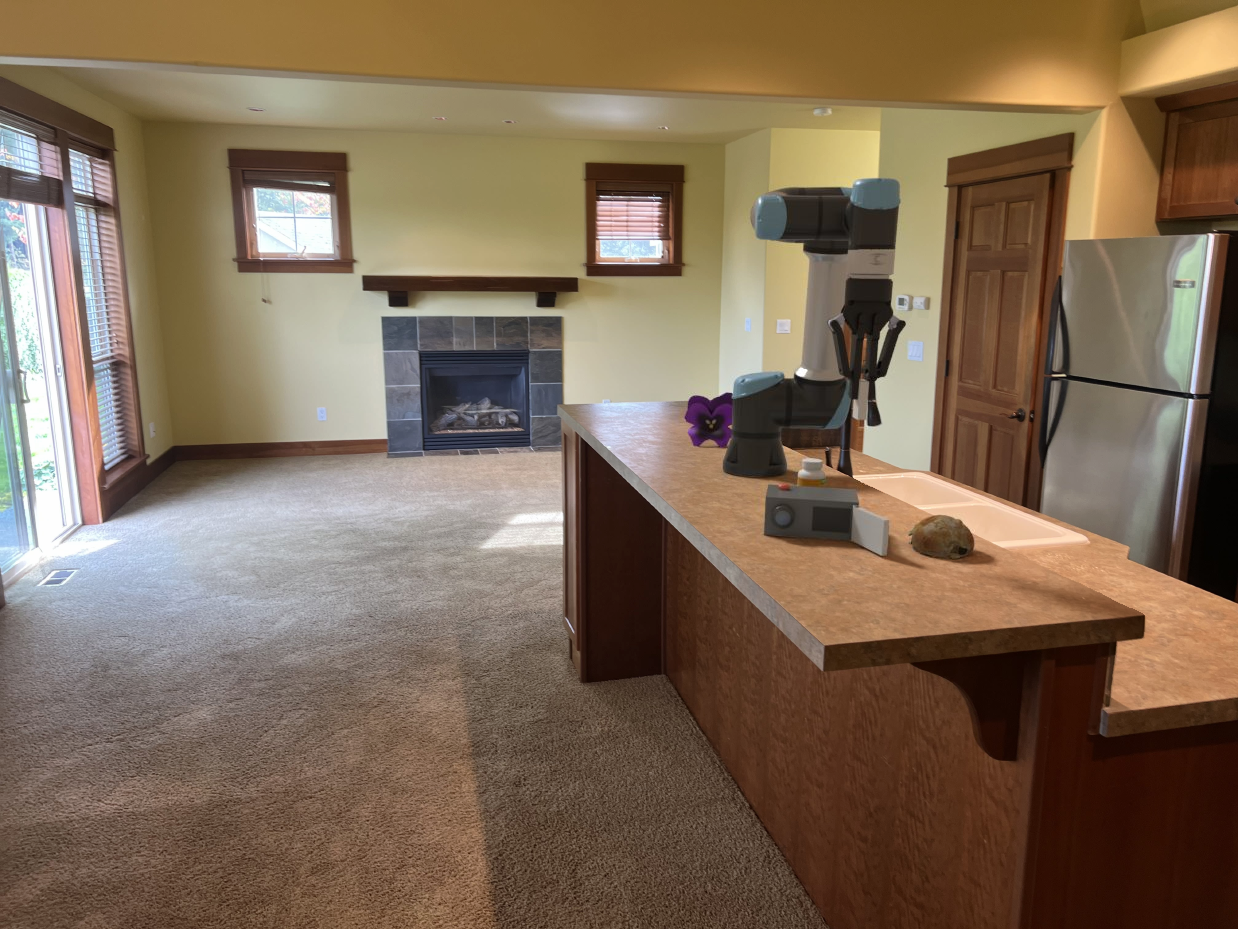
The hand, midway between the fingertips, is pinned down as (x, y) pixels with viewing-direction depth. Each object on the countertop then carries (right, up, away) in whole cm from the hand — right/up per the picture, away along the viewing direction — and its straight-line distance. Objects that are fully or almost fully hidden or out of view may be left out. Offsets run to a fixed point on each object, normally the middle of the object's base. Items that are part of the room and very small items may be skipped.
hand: (859, 418), depth 152 cm
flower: (-15, -2, +96) cm, 97 cm away
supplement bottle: (-3, -17, +27) cm, 32 cm away
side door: (+2, -22, 0) cm, 22 cm away
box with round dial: (-6, -20, +11) cm, 23 cm away
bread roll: (+13, -23, 0) cm, 26 cm away
